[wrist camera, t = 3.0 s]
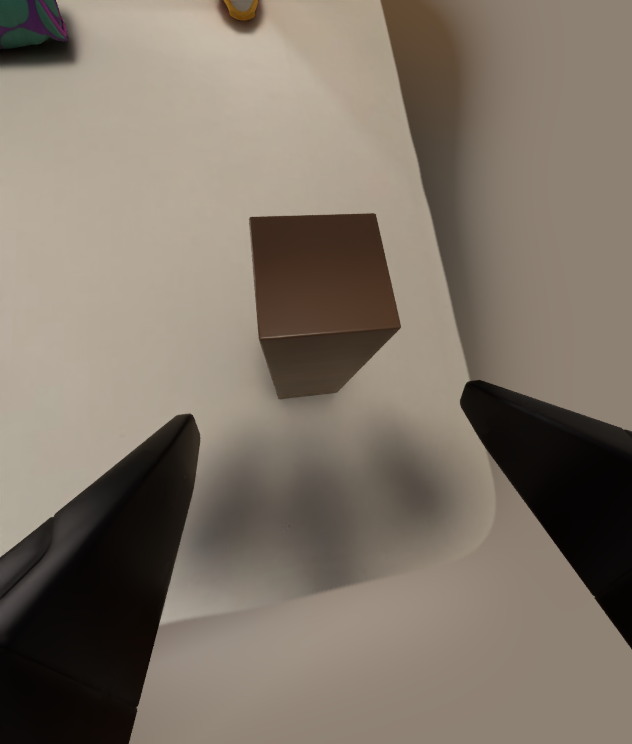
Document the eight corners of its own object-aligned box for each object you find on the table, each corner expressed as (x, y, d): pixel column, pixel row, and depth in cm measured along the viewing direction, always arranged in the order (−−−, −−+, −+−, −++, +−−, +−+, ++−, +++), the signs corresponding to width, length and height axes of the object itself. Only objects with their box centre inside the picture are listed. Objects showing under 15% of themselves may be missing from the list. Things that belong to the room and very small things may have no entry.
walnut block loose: (337, 392, 20) (402, 327, 8) (278, 399, 19) (258, 340, 8) (329, 338, 21) (376, 212, 9) (273, 342, 20) (248, 215, 9)
